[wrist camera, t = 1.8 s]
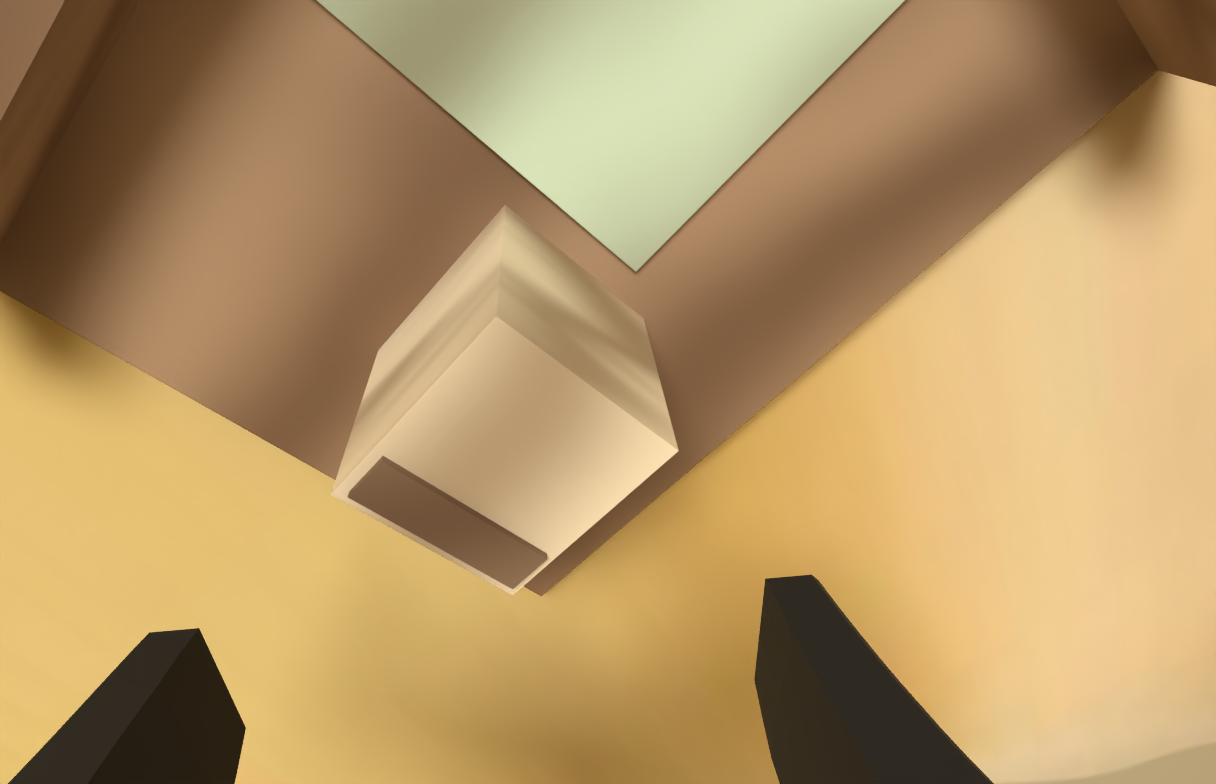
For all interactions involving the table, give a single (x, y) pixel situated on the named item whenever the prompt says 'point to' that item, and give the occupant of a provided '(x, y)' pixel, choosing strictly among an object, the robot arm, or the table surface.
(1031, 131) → the arena
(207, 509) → the table surface
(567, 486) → the block
